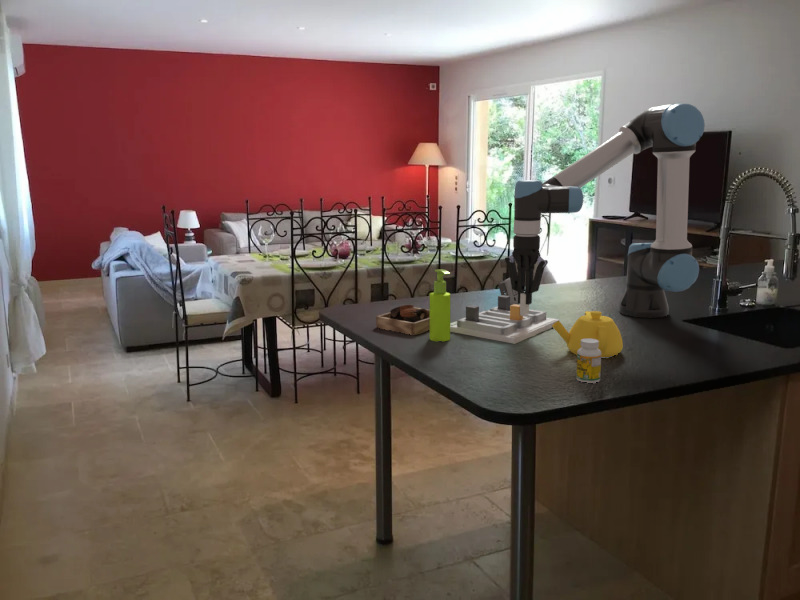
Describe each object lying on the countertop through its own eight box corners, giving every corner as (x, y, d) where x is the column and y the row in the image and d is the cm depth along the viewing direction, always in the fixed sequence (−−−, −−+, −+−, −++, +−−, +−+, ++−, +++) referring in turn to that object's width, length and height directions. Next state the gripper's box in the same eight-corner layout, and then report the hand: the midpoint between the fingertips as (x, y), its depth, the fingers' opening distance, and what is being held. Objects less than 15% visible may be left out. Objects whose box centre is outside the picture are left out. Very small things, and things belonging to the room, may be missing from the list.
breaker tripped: (523, 324, 206) (523, 305, 205) (518, 326, 204) (518, 307, 202) (514, 322, 208) (514, 303, 206) (509, 324, 205) (509, 305, 204)
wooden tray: (448, 323, 214) (448, 312, 213) (414, 335, 201) (414, 323, 200) (410, 317, 223) (409, 306, 222) (375, 327, 210) (375, 316, 209)
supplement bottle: (604, 382, 159) (607, 342, 157) (586, 385, 157) (588, 344, 155) (589, 375, 164) (591, 336, 162) (571, 378, 162) (573, 339, 160)
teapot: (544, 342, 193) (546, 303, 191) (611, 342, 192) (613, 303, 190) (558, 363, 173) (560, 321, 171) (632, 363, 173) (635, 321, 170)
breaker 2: (510, 314, 219) (510, 296, 217) (505, 315, 216) (505, 297, 215) (502, 312, 220) (502, 294, 219) (497, 314, 218) (497, 296, 217)
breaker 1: (479, 325, 205) (479, 306, 204) (473, 327, 203) (473, 308, 202) (470, 323, 207) (470, 304, 206) (465, 325, 205) (465, 306, 203)
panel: (559, 324, 212) (559, 313, 211) (514, 343, 191) (514, 331, 190) (492, 313, 226) (492, 302, 226) (444, 330, 206) (444, 318, 205)
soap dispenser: (438, 343, 192) (438, 272, 188) (425, 337, 198) (425, 269, 194) (456, 340, 195) (456, 270, 191) (443, 335, 201) (443, 267, 197)
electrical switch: (513, 306, 236) (511, 280, 234) (498, 306, 238) (497, 280, 237) (522, 301, 244) (520, 275, 242) (508, 301, 246) (506, 275, 245)
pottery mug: (392, 334, 204) (385, 308, 206) (396, 340, 213) (389, 315, 215) (431, 324, 203) (424, 298, 205) (433, 330, 212) (427, 305, 215)
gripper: (553, 235, 197) (550, 315, 202) (513, 231, 205) (511, 309, 210) (541, 237, 191) (538, 320, 196) (500, 234, 199) (498, 314, 204)
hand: (524, 314), depth 203 cm, fingers closed
